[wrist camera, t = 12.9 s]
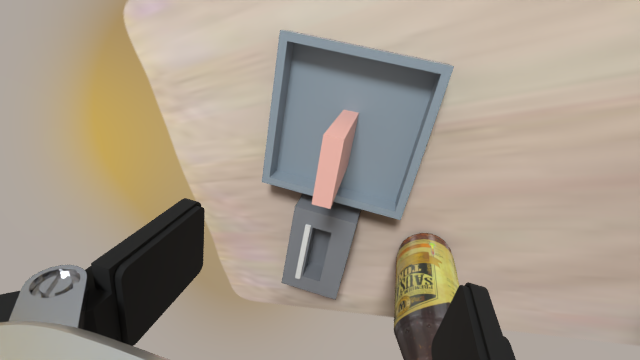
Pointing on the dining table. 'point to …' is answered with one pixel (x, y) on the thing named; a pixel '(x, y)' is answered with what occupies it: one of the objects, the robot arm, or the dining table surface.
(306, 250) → the dispenser
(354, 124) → the ticket
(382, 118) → the tray
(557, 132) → the dining table surface
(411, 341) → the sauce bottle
